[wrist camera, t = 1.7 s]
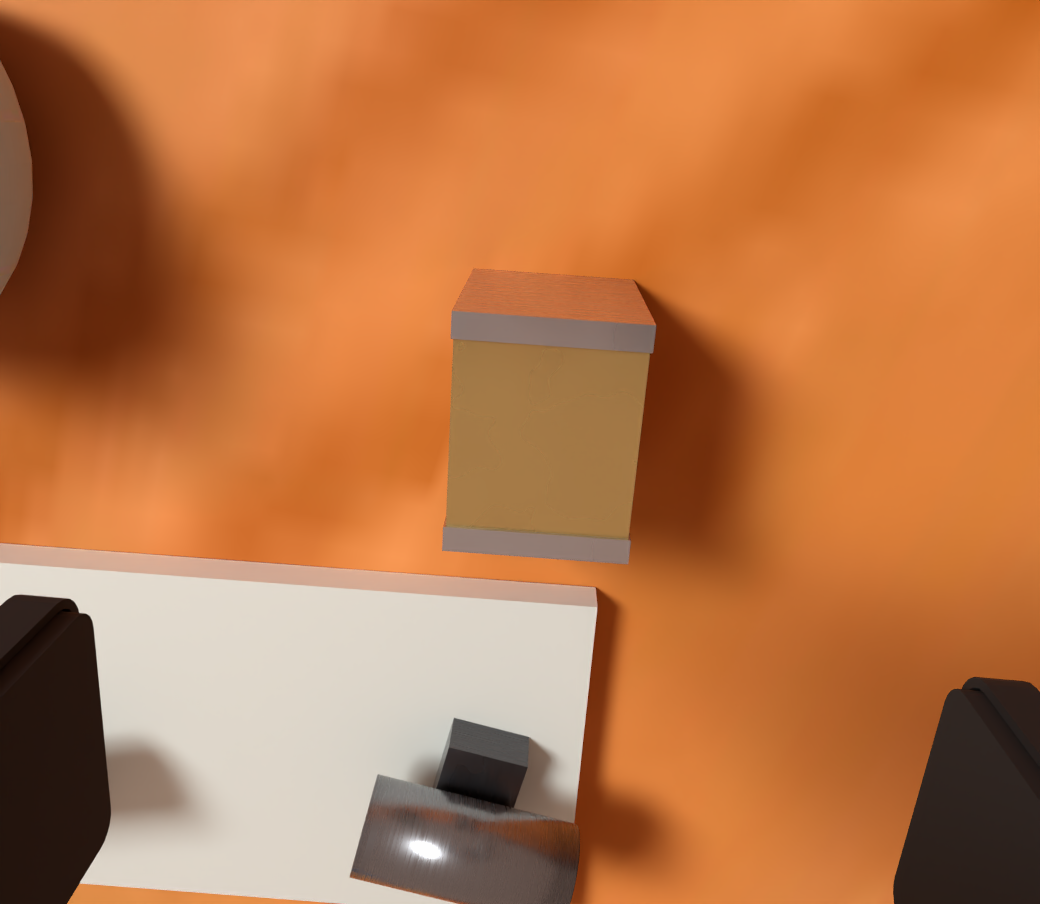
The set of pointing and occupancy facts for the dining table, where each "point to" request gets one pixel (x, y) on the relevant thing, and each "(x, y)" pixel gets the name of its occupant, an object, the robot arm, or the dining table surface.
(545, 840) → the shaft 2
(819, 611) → the dining table surface
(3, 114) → the air freshener
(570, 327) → the tan box
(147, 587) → the board
